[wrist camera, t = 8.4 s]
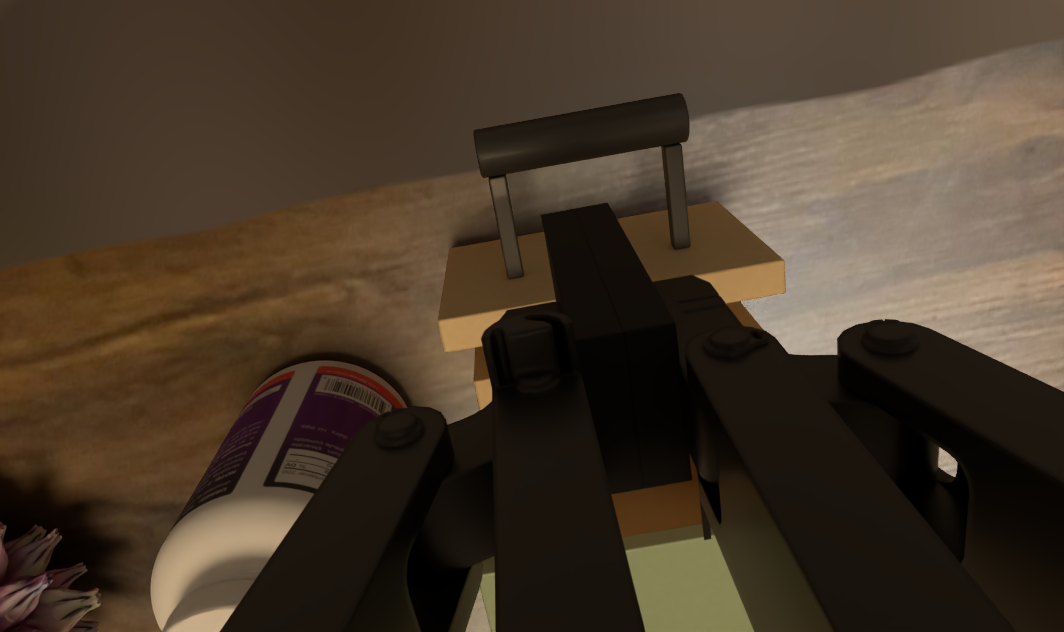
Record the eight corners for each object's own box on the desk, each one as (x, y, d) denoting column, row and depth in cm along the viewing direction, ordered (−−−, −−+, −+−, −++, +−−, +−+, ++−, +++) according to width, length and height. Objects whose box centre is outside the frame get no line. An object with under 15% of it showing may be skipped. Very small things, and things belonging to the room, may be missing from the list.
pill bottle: (273, 509, 37) (154, 791, 24) (224, 365, 34) (54, 599, 21) (435, 484, 37) (405, 753, 24) (400, 338, 34) (344, 554, 21)
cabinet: (479, 435, 36) (476, 575, 27) (738, 390, 36) (820, 517, 27) (530, 656, 42) (541, 832, 33) (754, 618, 42) (825, 785, 33)
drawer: (420, 120, 29) (397, 159, 22) (707, 68, 29) (779, 91, 22) (506, 507, 37) (510, 630, 30) (736, 467, 37) (797, 582, 29)
